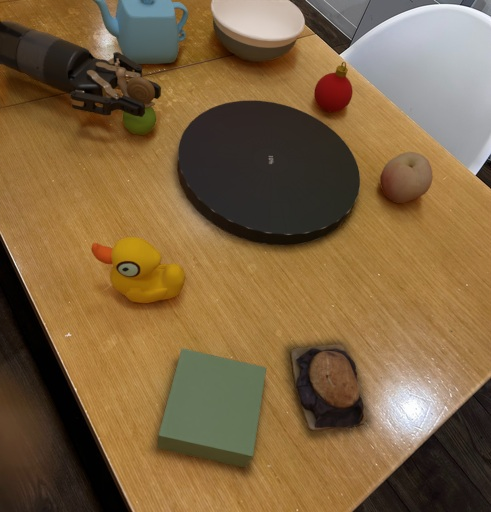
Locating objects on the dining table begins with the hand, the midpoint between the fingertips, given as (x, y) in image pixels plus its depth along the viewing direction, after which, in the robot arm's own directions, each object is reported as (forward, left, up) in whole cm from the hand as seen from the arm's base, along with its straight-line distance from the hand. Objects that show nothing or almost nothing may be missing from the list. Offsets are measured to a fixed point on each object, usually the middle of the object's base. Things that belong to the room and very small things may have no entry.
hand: (151, 101), depth 77 cm
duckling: (+7, -29, -7) cm, 31 cm away
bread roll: (+33, -37, -7) cm, 50 cm away
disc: (+20, -2, -7) cm, 22 cm away
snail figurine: (-3, +1, -7) cm, 8 cm away
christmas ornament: (+29, +20, -7) cm, 36 cm away
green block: (+19, -43, -7) cm, 48 cm away
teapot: (-9, +23, -7) cm, 25 cm away
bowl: (+12, +32, -7) cm, 35 cm away
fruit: (+43, +1, -7) cm, 43 cm away
